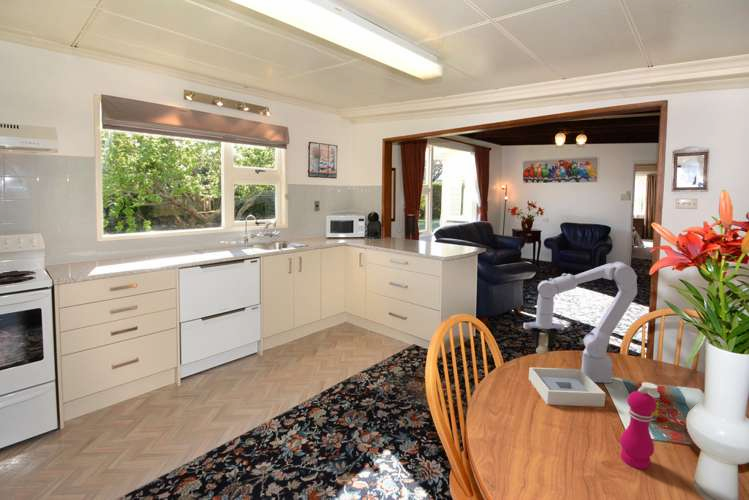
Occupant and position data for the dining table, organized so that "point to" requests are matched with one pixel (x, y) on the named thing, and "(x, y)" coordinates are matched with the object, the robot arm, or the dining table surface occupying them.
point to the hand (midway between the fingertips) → (542, 347)
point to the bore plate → (563, 384)
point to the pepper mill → (638, 430)
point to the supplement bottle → (653, 392)
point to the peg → (542, 343)
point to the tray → (567, 397)
